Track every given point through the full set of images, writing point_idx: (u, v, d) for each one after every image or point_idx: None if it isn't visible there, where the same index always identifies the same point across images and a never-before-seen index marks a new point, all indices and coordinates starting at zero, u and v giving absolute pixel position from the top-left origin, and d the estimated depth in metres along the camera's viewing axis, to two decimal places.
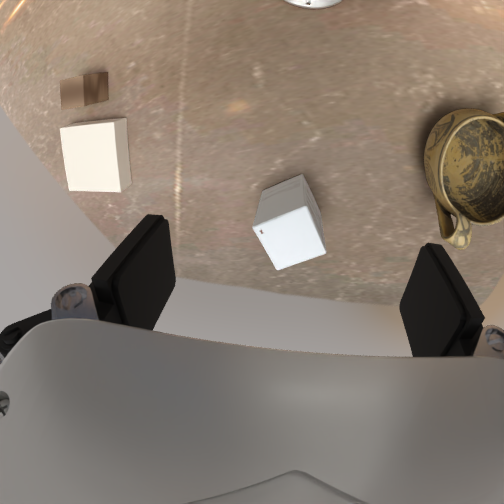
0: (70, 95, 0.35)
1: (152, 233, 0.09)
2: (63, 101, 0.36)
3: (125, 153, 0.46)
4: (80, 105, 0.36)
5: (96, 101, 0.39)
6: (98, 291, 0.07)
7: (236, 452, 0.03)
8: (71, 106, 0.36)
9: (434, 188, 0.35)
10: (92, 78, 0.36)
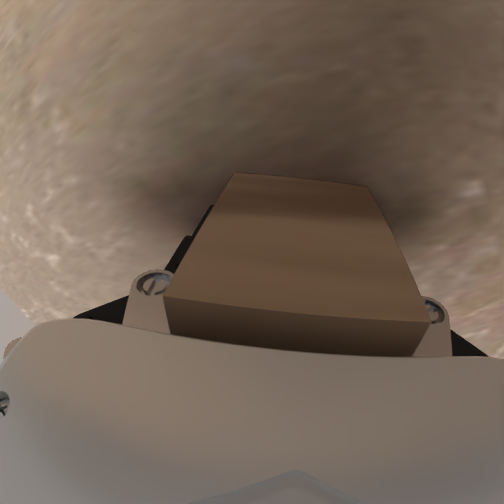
0: None
1: None
2: None
3: None
4: None
5: None
6: None
7: (236, 452, 0.03)
8: None
9: None
10: None
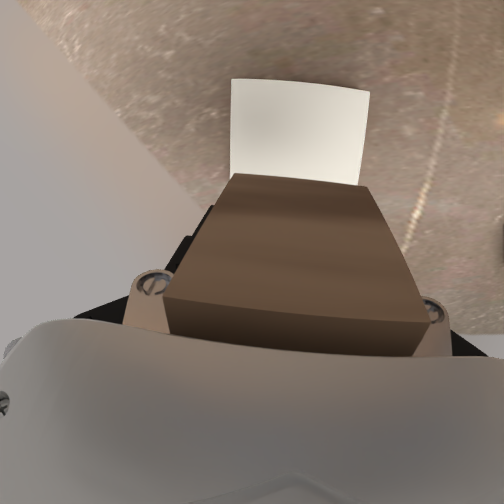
0: None
1: None
2: None
3: None
4: None
5: None
6: None
7: (236, 452, 0.03)
8: None
9: None
10: None
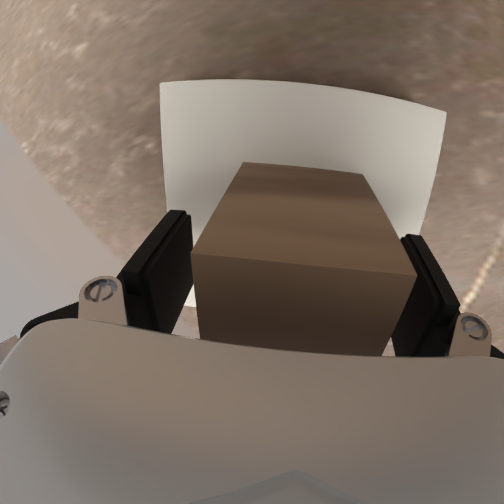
0: None
1: (177, 227, 0.10)
2: None
3: None
4: None
5: None
6: (127, 283, 0.08)
7: (236, 452, 0.03)
8: None
9: None
10: None
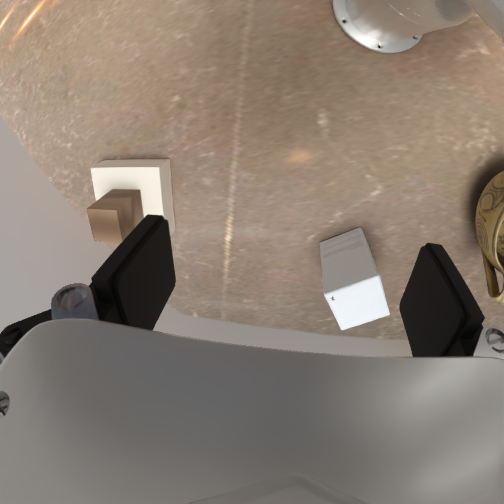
0: (103, 229, 0.38)
1: (152, 233, 0.09)
2: (95, 232, 0.38)
3: (169, 199, 0.45)
4: (117, 242, 0.38)
5: None
6: (98, 291, 0.07)
7: (236, 452, 0.03)
8: (106, 240, 0.38)
9: (485, 248, 0.34)
10: (126, 207, 0.38)
